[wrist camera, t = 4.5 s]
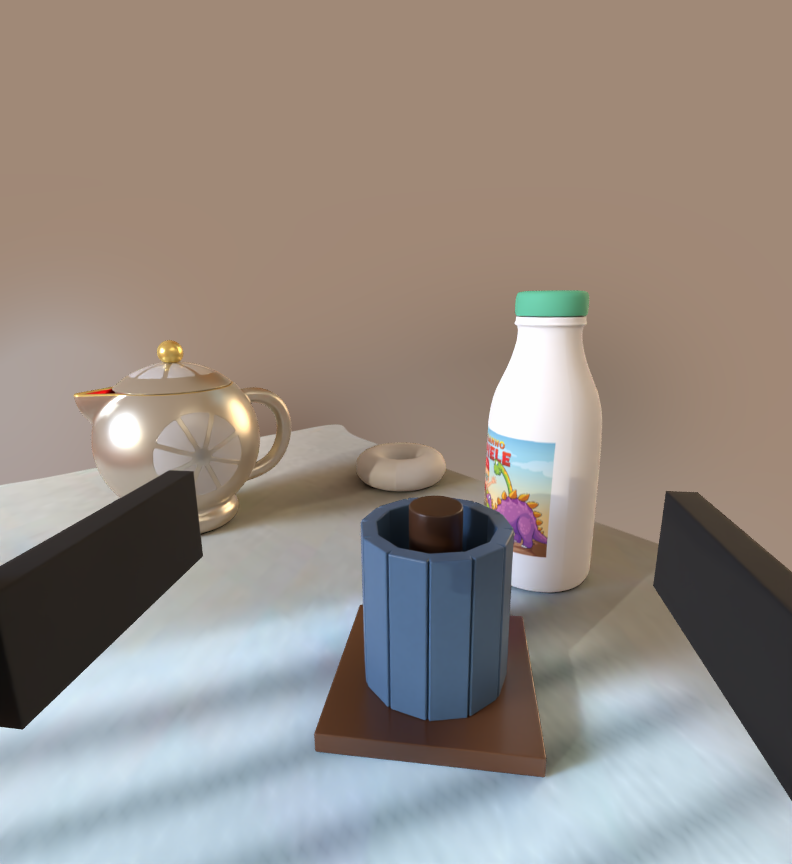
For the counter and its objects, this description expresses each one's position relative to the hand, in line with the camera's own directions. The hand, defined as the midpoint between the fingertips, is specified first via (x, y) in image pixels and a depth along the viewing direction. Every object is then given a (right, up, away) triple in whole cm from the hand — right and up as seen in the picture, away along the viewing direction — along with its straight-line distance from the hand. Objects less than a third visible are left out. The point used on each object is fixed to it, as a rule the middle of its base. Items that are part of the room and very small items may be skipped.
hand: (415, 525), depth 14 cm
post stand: (+1, -11, +13) cm, 17 cm away
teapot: (-18, -5, +34) cm, 39 cm away
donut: (0, -3, +43) cm, 43 cm away
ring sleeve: (+1, -10, +12) cm, 16 cm away
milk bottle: (+10, -8, +24) cm, 27 cm away
